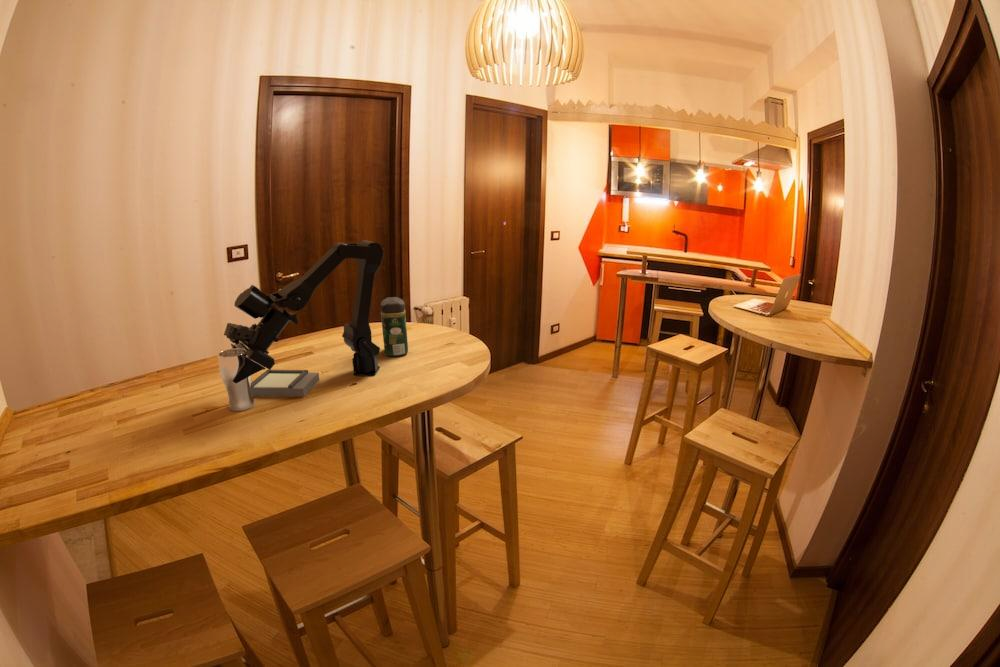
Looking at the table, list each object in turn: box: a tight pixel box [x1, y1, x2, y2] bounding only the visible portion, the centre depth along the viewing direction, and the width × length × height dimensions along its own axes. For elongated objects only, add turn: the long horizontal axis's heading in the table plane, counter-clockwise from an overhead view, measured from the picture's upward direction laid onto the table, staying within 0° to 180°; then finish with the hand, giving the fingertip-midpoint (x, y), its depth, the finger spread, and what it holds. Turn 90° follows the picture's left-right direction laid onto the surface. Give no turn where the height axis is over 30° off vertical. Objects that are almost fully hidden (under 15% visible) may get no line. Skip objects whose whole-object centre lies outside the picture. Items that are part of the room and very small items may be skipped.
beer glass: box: [217, 348, 256, 412], centre depth 129 cm, size 7×7×15 cm
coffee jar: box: [380, 296, 409, 357], centre depth 166 cm, size 10×8×19 cm
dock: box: [251, 369, 320, 398], centre depth 142 cm, size 15×11×3 cm
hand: (230, 378), depth 128 cm, fingers closed on beer glass, 6 cm apart
